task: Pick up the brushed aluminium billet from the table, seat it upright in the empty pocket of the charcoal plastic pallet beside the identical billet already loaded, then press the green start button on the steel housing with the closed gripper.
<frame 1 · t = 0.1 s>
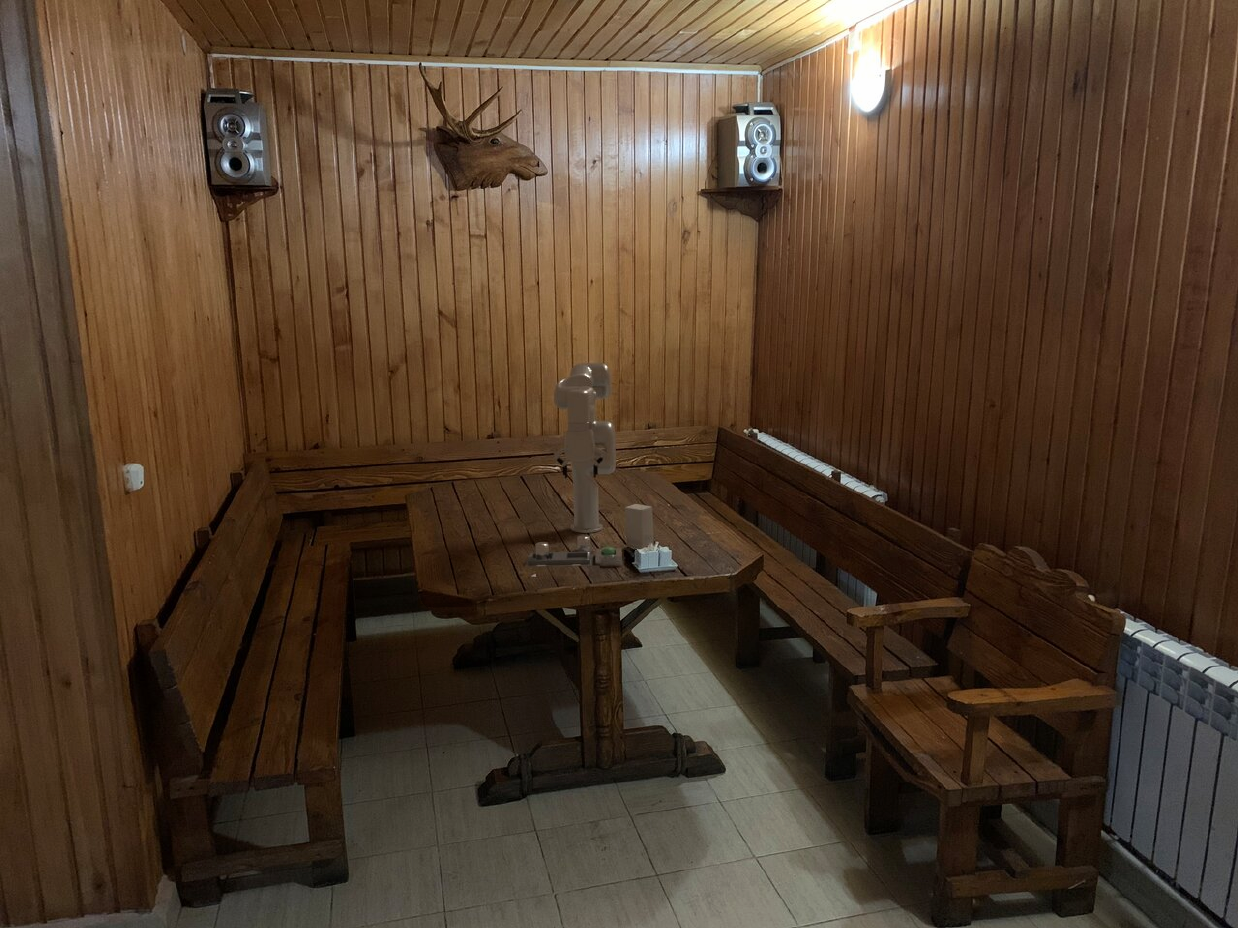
hand: (580, 477, 302), 31 cm above the table, tool pointing down, fingers open, 9 cm apart
pallet: (559, 562, 312), on the table
billet: (584, 553, 322), on the table
skincare box: (639, 548, 327), on the table
start button: (608, 552, 311), point 3 cm above the table, slide at 0.0 cm
button housing: (608, 562, 312), on the table
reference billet: (542, 560, 311), point 1 cm above the table, touching pallet
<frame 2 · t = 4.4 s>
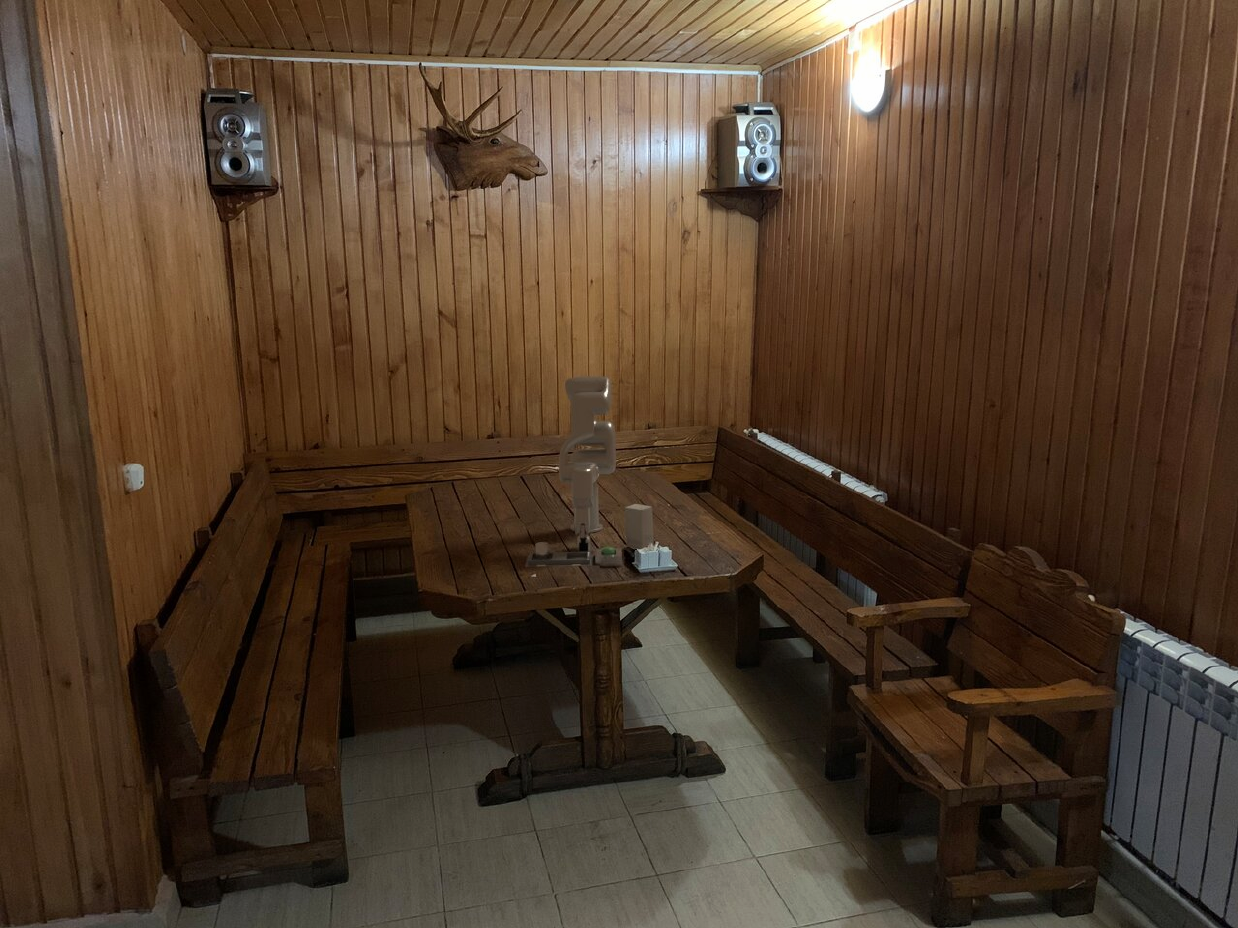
hand: (584, 550, 322), 1 cm above the table, tool pointing down, fingers closed on billet, 4 cm apart
billet: (584, 552, 322), on the table, touching gripper
everything else where it was.
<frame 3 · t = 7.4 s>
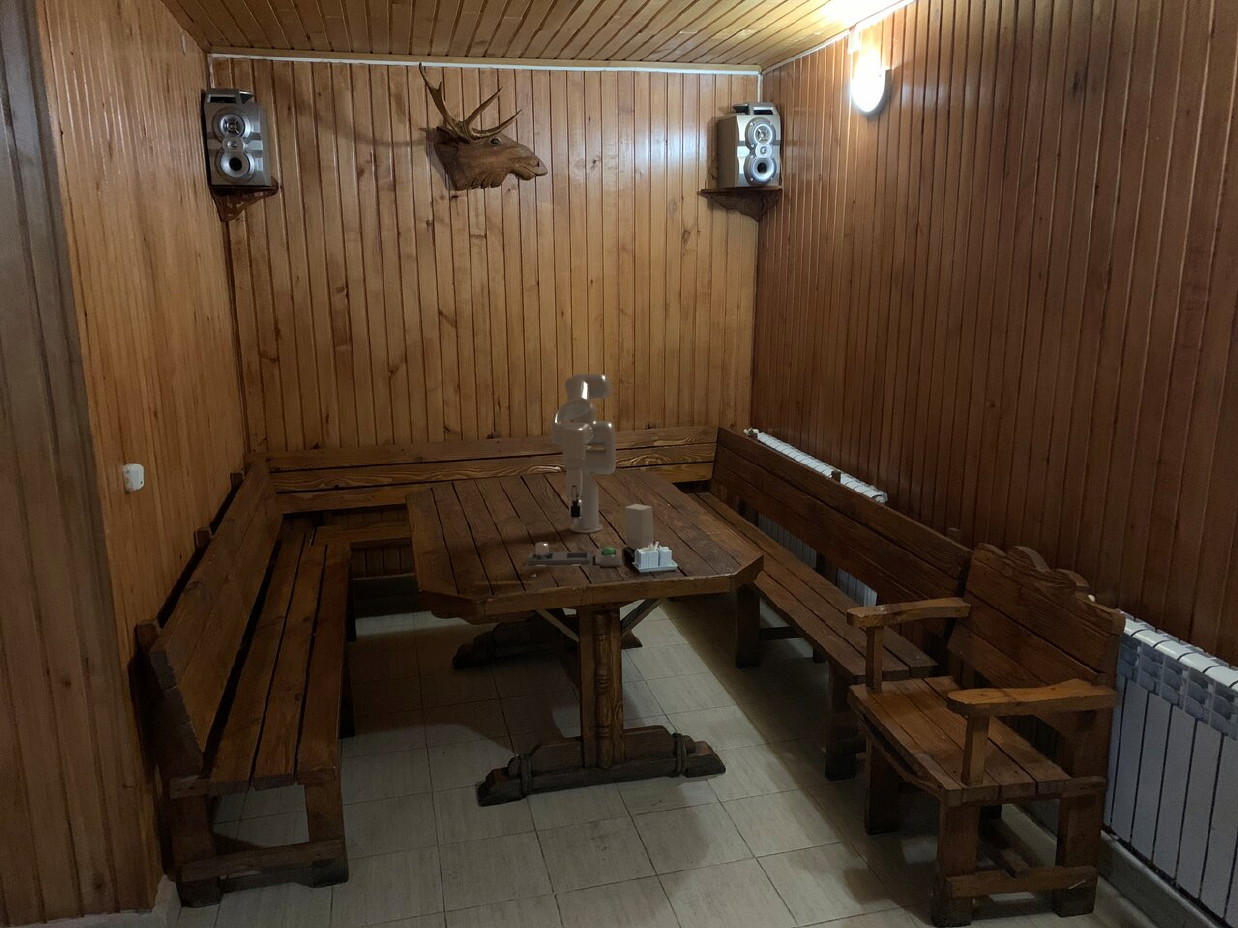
hand: (575, 514, 308), 17 cm above the table, tool pointing down, fingers closed on billet, 4 cm apart
billet: (576, 517, 308), point 16 cm above the table, touching gripper
everything else where it was.
when the fingers open (3 cm above the table, at t = 10.4 s): billet drops 1 cm, resting on pallet.
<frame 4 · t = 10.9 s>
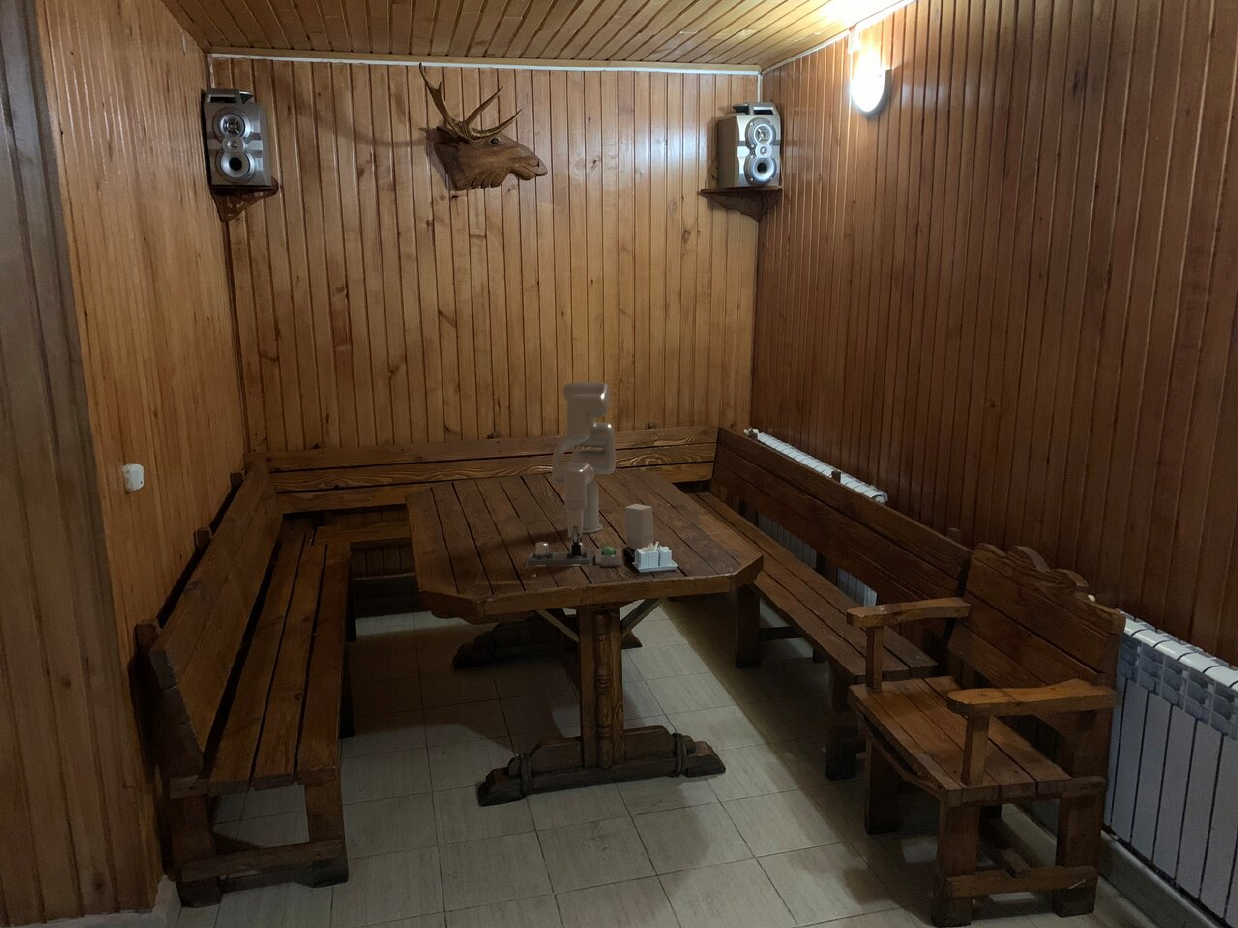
hand: (576, 551, 311), 4 cm above the table, tool pointing down, fingers open, 9 cm apart
billet: (577, 559, 311), point 1 cm above the table, touching pallet
everything else where it was.
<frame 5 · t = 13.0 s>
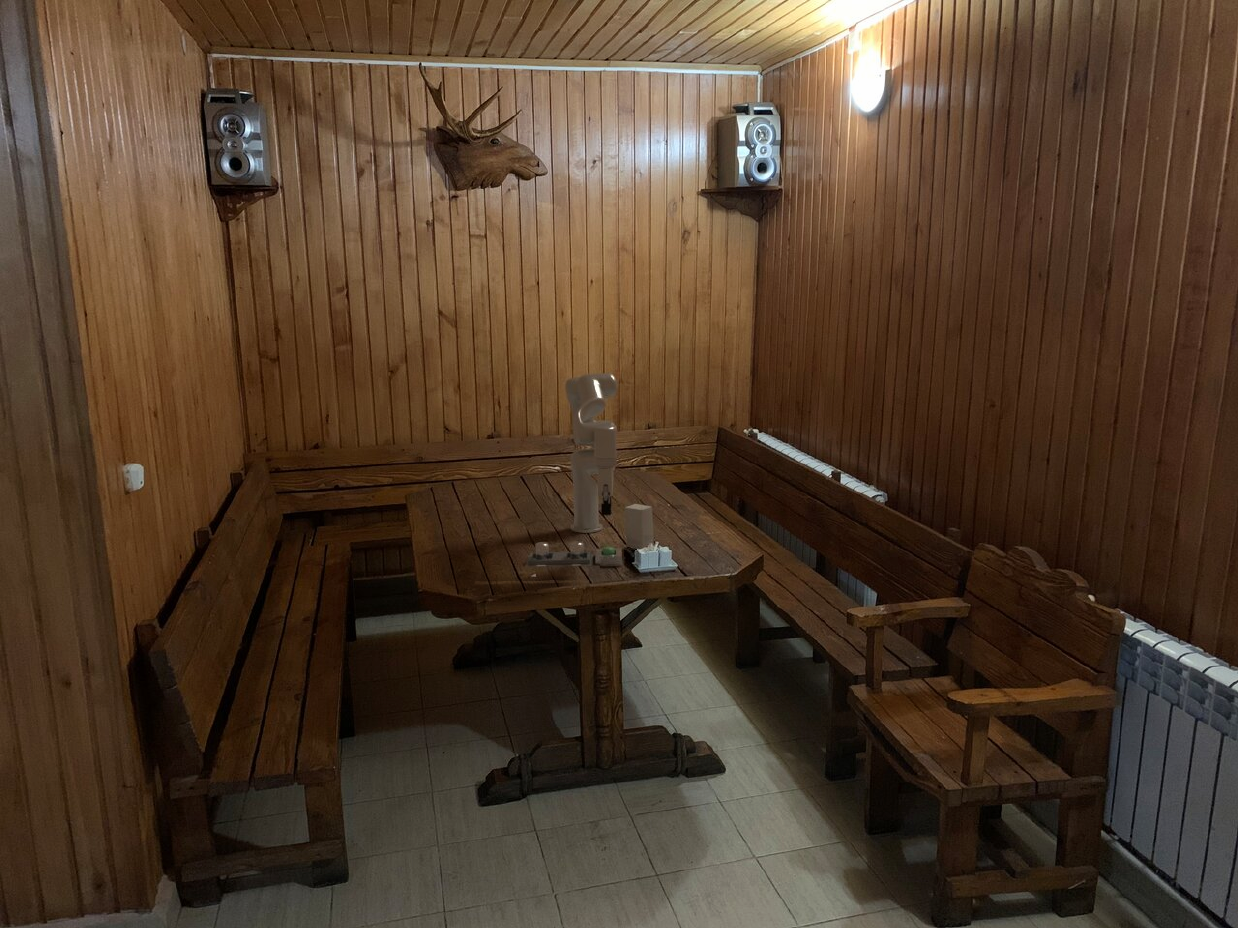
hand: (606, 511, 308), 18 cm above the table, tool pointing down, fingers open, 9 cm apart
nothing on the table moved.
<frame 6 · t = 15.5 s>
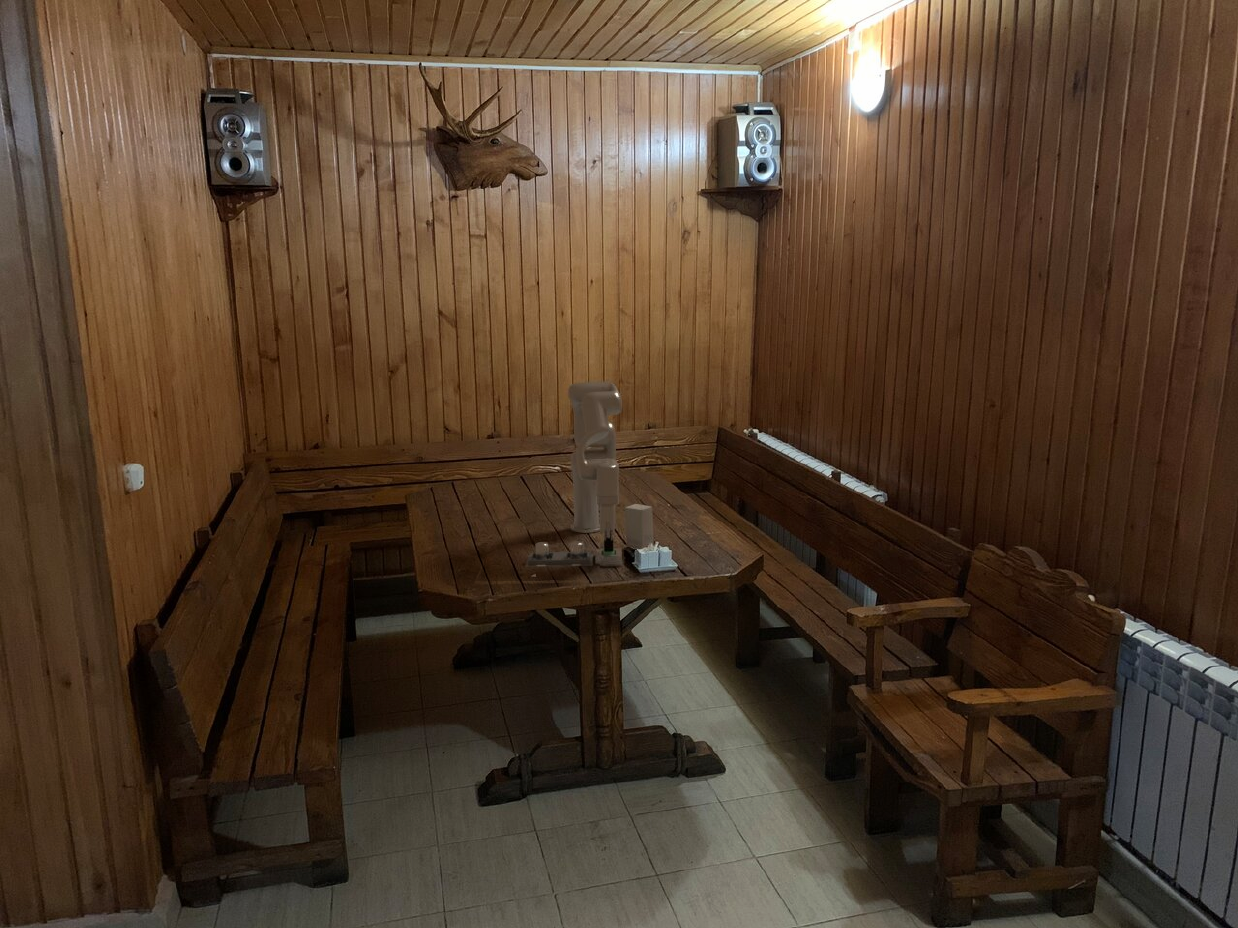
hand: (608, 550, 311), 4 cm above the table, tool pointing down, fingers closed
start button: (608, 554, 311), point 3 cm above the table, slide at 0.8 cm, touching gripper
everything else where it was.
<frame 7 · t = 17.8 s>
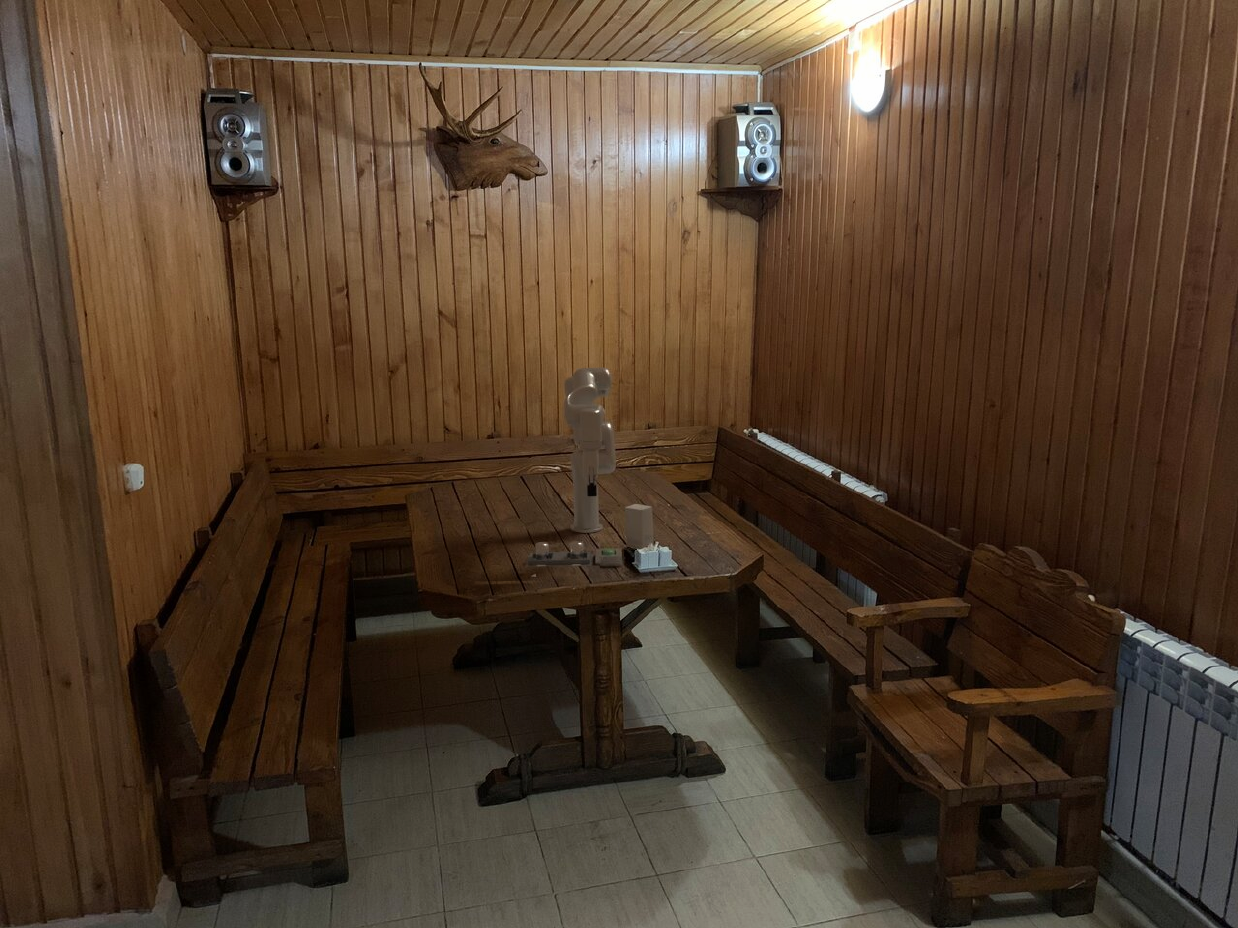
hand: (592, 495, 313), 22 cm above the table, tool pointing down, fingers closed
start button: (608, 555, 311), point 3 cm above the table, slide at 0.9 cm
everything else where it was.
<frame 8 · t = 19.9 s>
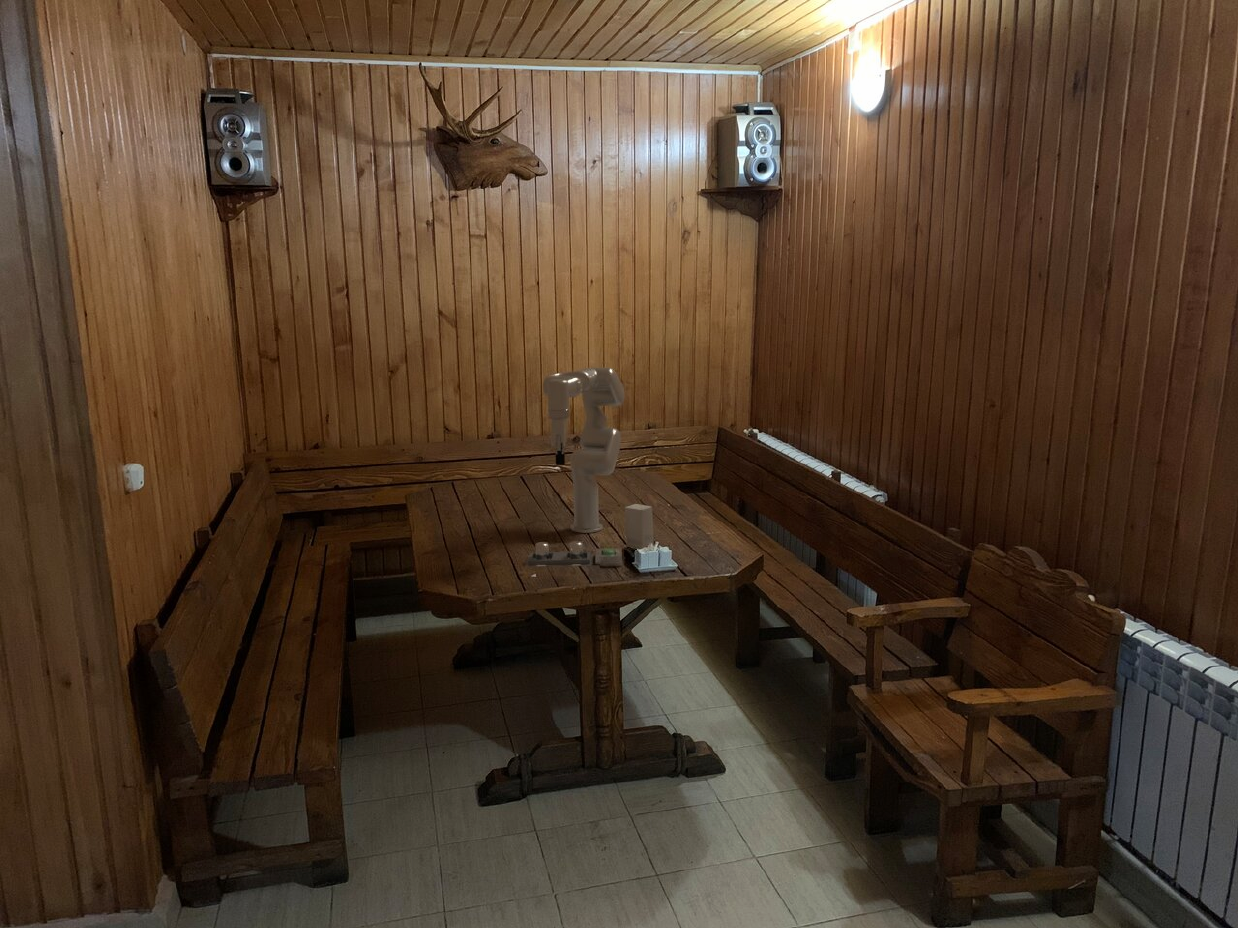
hand: (560, 464, 323), 31 cm above the table, tool pointing down, fingers closed
nothing on the table moved.
at the end: billet 0.1 cm from the target spot on the pallet, point 1.1 cm above the pallet's base; billet tilted 2°; start button slide at 0.9 cm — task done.
